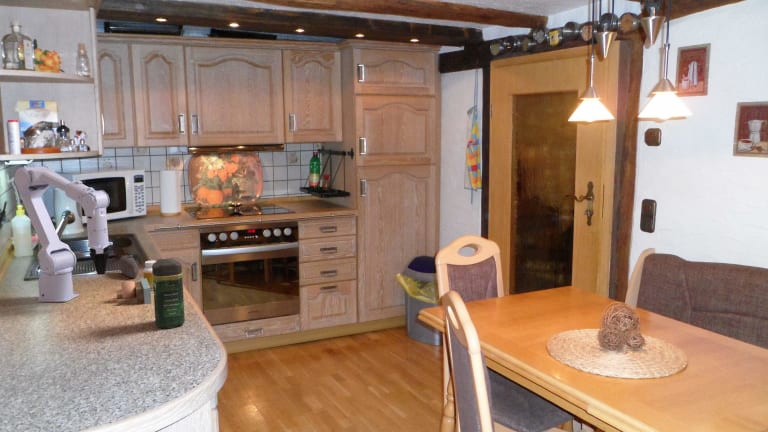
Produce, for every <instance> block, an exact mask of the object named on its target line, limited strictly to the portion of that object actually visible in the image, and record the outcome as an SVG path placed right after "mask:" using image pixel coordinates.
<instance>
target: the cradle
mask: <svg viewBox="0 0 768 432" xmlns="http://www.w3.org/2000/svg"><path fill="white" fill-rule="evenodd" d="M135 292H136V298H128V299H123V298H122V292H119V293H116V298H117V299H116V300H117V305H118V306H124V305H125V306H126V305H134V304H141V303H144V297H143V288H142V285H141V282H140V281H138V282H135Z"/></svg>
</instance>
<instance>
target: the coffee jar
mask: <svg viewBox="0 0 768 432" xmlns="http://www.w3.org/2000/svg"><path fill="white" fill-rule="evenodd" d="M155 261H156V262H155V263H153V265H152V275H153V290H154V291H153V303H154V321H155V322H154V323H155V325H156V326H157V327H158V328H168V329H172V328H176V327H178V326H182V325H184V324H185V321H186V320H185V319H186V318H185V302H184V296H185V295H184V283H183V282H184V281H183V268H182V267H183V266H182V263H180V262H179V261H177V260H175V259H173V258H161V259H157V260H155Z"/></svg>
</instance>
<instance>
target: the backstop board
mask: <svg viewBox="0 0 768 432" xmlns="http://www.w3.org/2000/svg"><path fill="white" fill-rule="evenodd" d="M139 282H141V285H142V288H143V297H144V302H143V303H144V305H147V304H152V291H151V288H150V286H149V283H148V281H147V278H145V279H144V278H140V279H139Z"/></svg>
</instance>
